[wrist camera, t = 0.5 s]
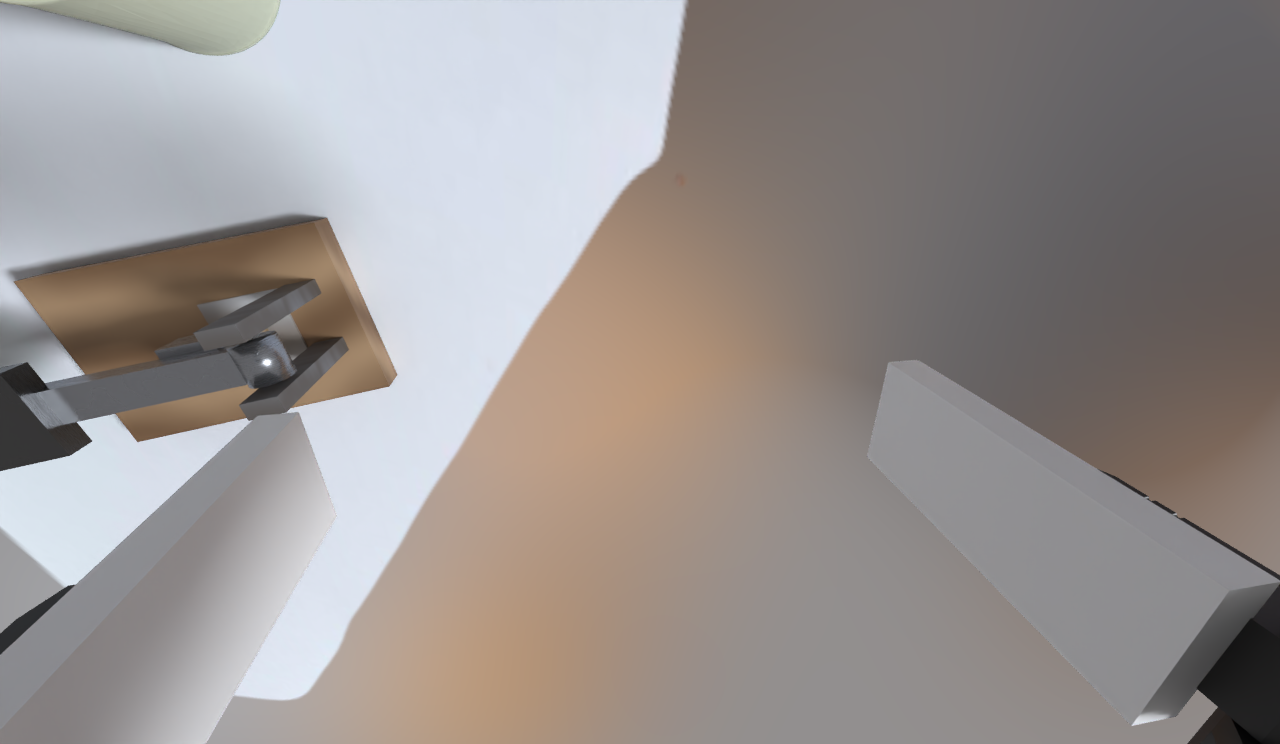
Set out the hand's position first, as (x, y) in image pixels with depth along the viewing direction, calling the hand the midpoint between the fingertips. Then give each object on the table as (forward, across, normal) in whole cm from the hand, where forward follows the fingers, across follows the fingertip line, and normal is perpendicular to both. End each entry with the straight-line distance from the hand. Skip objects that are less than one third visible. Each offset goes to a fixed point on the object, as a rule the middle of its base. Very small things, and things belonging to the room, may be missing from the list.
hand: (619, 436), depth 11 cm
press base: (+27, -24, -6) cm, 37 cm away
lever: (+21, -25, -6) cm, 33 cm away
